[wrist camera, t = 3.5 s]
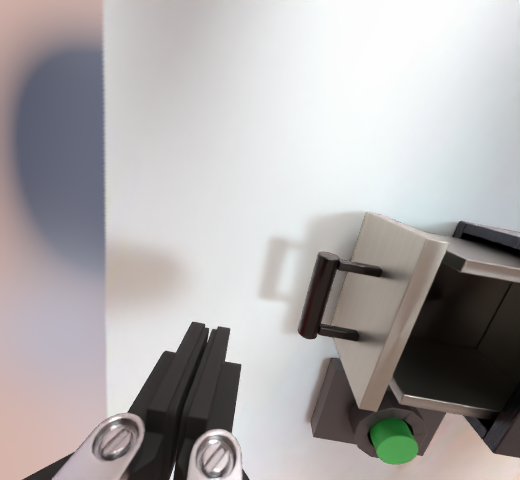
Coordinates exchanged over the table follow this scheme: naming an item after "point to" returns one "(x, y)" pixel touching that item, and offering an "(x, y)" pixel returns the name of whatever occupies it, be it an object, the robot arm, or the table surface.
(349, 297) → the drawer
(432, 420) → the control block
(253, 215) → the table surface
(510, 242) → the cabinet
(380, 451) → the button
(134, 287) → the table surface
